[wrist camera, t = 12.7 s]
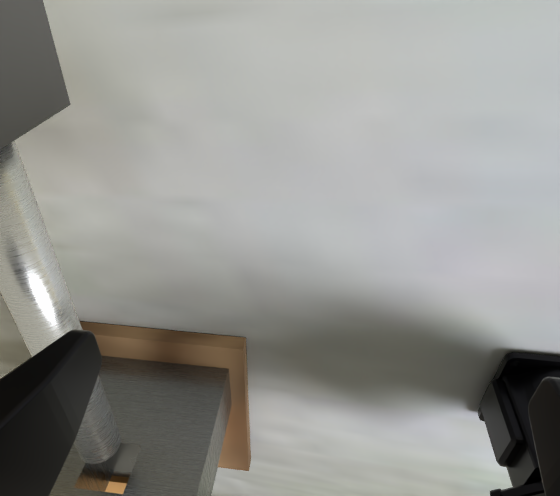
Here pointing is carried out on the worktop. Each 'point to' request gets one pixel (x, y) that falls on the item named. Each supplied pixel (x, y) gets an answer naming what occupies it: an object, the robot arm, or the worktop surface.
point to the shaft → (25, 213)
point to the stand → (167, 412)
